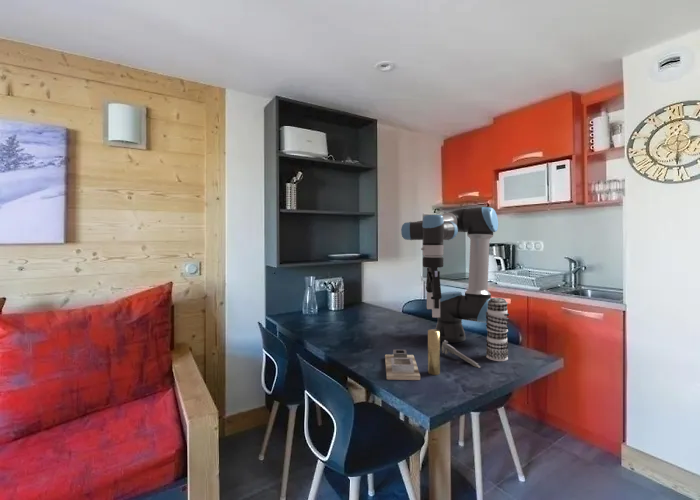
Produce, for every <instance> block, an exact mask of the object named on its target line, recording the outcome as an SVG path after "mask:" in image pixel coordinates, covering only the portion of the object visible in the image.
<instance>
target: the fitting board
mask: <svg viewBox="0 0 700 500" xmlns="http://www.w3.org/2000/svg"><path fill="white" fill-rule="evenodd" d="M392 350H393V351H392V354H385V355H384V361H385V374H386V375H385V376H386V380H389V381H391V380H394V381H396V380H397V381H399V380H400V381H407V380H408V381H420V380H421V374H420V371H419V368H418V364H417V361H416V358H415V356H414V354H408V353H407V352H408V351H407V349H392Z"/></svg>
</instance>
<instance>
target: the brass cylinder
mask: <svg viewBox="0 0 700 500" xmlns="http://www.w3.org/2000/svg"><path fill="white" fill-rule="evenodd" d="M427 373H428V374H429V375H433V376H439V375H440V374H441V341H440V331H439V330H436V329H435V328H434V329H433V328H432V329H428V330H427Z"/></svg>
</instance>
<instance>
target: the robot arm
mask: <svg viewBox="0 0 700 500" xmlns="http://www.w3.org/2000/svg"><path fill="white" fill-rule="evenodd" d="M498 229H499V219H498V215H497V212H496V210H495V209H494V208H492V207H486V206H485V207H484V206H482V207H469V208H468V207H467V208H459V209H455V210H451V211H448V212H444V213H442V214H426V215H424V216H423V217H422V220H418V221H408V222H404V223H403V224H402V225H401V227H400V232H401V233H400V234H401V237H402V238H403V239H404V240H406V241H422V247H421V248H420V249H421V251H422V255H423V257H422V267H424V268H426V281H425V282H426V283H425V291H426V309H427V310H431V316H432V317H431V318H437V323H436V327H435V328H434V329H436V330H439V331H440V342H442V343H443V342H444V340H446V341H448V343H462V342H464V341H466V333H465V332H466V331H465V330H464V326H463V324H462V322H463V321H471V322H475V323H476V322H477V323H482V324H483V323H486V320H487V319H486V316H487V315H486V312H487V308H488V302H487V301H489V300H490V299H491V298H492V294H491V292H490V291H489V288H488V287H489V268H490V267H489V265H490V264H489V263H490V262H489V261H490V260H489V259H490V241H491V239H492V238H493V237H494V233H496V232H497V231H498ZM458 233H466V234H467V237H468V238H469V240H470V241H469V243H470V245H469V263H468V264H469V265H468V266H469V267H468V268H469V269H468V289H467V290H466V291H464V295H463V293H462V291H445V292H442V290H441V289H442V288H441V287H442V286H441V277H440V275H441V274H440V273H441V271H440V270H438V268H443V267H444V257H443V256H444V241H450V240H453V239H455V237H457V235H458ZM486 324H487V323H486Z"/></svg>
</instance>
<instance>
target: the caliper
mask: <svg viewBox="0 0 700 500" xmlns="http://www.w3.org/2000/svg"><path fill="white" fill-rule="evenodd" d="M441 353H442V354H444V355H448V353H450V354H452V355H455V356H457V357H459V358H460V359H462V360H464V361H465V362H466V363H468V364H470V365H471V366H473V367H475V368H478V369H480V368H482V366H480V365H479V363H478V362H476V361H475V360H473V359H471V358H470V357H468V356H466V355H465V354H463V353H461V352H460V351H459V350H457V349H456V348H455V347H454V346H452V345H451V344H449V342H448V341H446V340H444V342H443V341H442V343H441Z"/></svg>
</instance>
